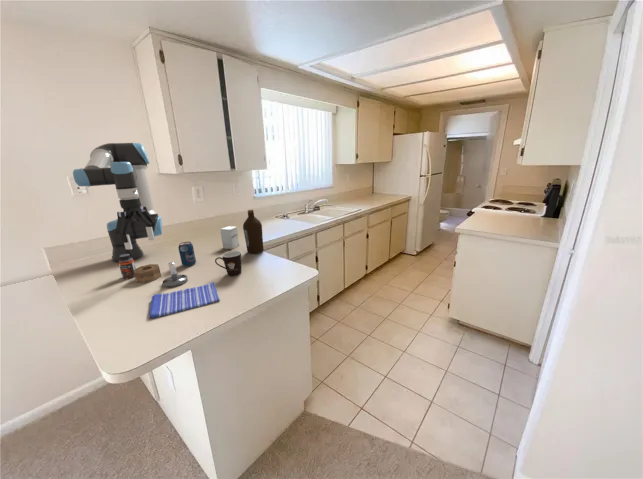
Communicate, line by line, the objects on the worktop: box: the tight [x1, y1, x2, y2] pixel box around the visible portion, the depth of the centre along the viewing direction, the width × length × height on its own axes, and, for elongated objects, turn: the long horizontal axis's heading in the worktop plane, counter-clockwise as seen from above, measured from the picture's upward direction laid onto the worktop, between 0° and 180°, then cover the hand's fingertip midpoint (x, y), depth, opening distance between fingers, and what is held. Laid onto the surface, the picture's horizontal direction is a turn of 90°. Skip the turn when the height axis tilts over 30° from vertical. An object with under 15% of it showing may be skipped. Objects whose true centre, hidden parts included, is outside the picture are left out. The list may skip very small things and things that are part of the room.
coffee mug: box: [214, 250, 242, 277], centre depth 127 cm, size 12×9×10 cm
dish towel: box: [149, 281, 220, 319], centre depth 104 cm, size 17×24×3 cm
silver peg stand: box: [162, 261, 189, 289], centre depth 119 cm, size 10×10×10 cm
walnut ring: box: [134, 263, 162, 284], centre depth 126 cm, size 10×10×5 cm
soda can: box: [178, 241, 197, 267], centre depth 140 cm, size 7×7×12 cm
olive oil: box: [242, 209, 264, 255], centre depth 153 cm, size 11×11×25 cm
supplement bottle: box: [117, 254, 137, 280], centre depth 128 cm, size 6×6×11 cm
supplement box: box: [219, 226, 240, 250], centre depth 166 cm, size 7×7×13 cm
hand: (141, 244), depth 122 cm, fingers open, 13 cm apart
